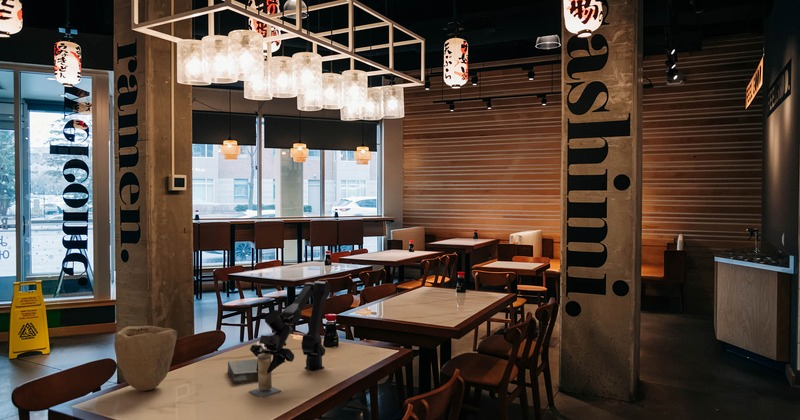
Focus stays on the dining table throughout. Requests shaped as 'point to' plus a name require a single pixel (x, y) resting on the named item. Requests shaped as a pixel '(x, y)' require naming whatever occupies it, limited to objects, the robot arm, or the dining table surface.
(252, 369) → the stone block
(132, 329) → the bowl
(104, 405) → the dining table surface
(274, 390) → the slate mat
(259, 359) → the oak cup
